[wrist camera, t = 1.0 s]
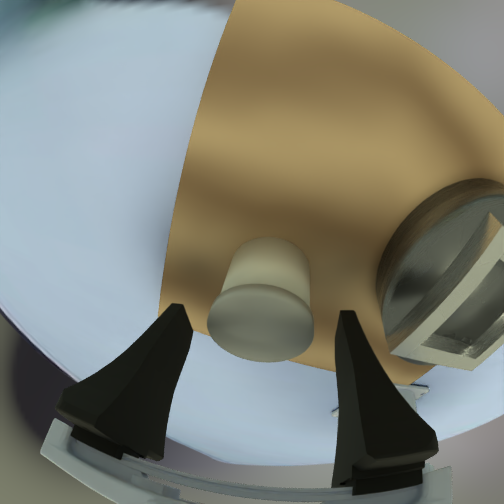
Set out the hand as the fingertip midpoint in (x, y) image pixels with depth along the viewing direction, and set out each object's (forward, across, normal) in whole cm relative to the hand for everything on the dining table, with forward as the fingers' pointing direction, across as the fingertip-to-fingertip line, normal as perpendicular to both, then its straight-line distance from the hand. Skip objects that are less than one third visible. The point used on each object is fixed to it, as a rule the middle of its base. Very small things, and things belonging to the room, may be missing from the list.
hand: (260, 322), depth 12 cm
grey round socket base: (+4, -12, 0) cm, 13 cm away
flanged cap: (+4, 0, 0) cm, 4 cm away
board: (+5, -7, 0) cm, 8 cm away
